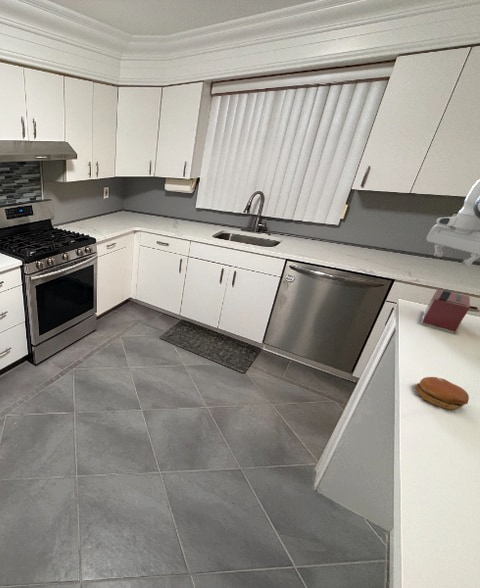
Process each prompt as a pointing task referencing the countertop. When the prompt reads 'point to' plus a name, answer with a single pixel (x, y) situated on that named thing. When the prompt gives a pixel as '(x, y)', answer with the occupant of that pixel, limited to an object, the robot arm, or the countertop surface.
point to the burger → (442, 393)
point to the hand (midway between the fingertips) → (451, 260)
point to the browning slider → (445, 294)
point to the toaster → (446, 311)
